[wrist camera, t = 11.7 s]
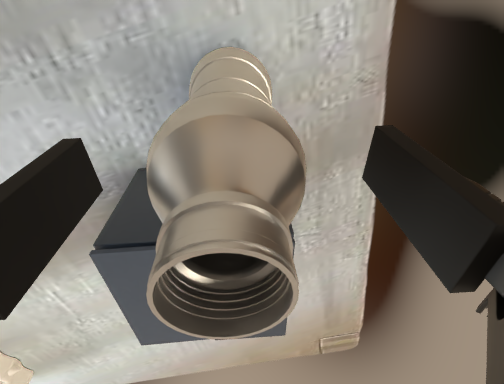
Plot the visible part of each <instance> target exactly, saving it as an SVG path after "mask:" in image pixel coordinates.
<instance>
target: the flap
mask: <svg viewBox="0 0 504 384" xmlns="http://www.w3.org/2000/svg"><path fill="white" fill-rule="evenodd" d="M89 255H90V257H91V259H92V260H93V262H94V264H95V266H96V267H97V269H98V271H99V273H100V274H101V276H102V278H103V279H104V281H105V283H106V285H107V286H108V288H109V290H110V292H111V293H112V295H113V297H114V299H115V300H116V302H117V304H118V305H119V307H120V309H121V311H122V312H123V314H124V316H125V318H126V319H127V321H128V323H129V325H130V326H131V328H132V330H133V331H134V333H135V335H136V337H137V338H138V340H139V342H140V344H141V345H151V344H162V343H173V342H183V341H194V340H205V339H206V338H199V337H194V336H190V335H187V334H184V333H181V332H178V331H176V330H174V329H172V328H170V327H168V326H167V325H165V324H164V323H163V322H161V321H160V320H159V319H158V318H157V317H156V316H155V315H154V314H153V313H152V311H151V309H150V307H149V305H148V302H147V296H146V293H147V284H148V279H149V275H150V272H151V269H152V266H153V263H154V260H155V257H156V246H143V247H130V248H116V249H103V250H92V251H91V252H90V254H89Z"/></svg>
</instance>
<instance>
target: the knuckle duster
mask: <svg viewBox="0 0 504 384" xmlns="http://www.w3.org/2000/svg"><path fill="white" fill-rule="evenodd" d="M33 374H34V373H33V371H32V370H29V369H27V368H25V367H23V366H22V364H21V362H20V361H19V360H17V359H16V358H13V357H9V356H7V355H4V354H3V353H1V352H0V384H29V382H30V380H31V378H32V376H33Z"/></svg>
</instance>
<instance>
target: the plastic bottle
mask: <svg viewBox="0 0 504 384" xmlns="http://www.w3.org/2000/svg"><path fill="white" fill-rule="evenodd" d="M146 167H147V186H148V194H149V197H150V200H151V203H152V206H153V208H154V210H155V211H156V213H157V215H158V217H159V218H160V220H161V222H162V223H163V224H162V226H161V229H160V232H159V235H158V238H157V243H156V257H155V260H154V263H153V266H152V269H151V272H150V275H149V279H148V284H147V293H146V296H147V302H148V305H149V307H150V309H151V311H152V313H153V314H154V315H155V316H156V317H157V318H158V319H159V320H160V321H161V322H163V323H164V324H165V325H167V326H168V327H170V328H172V329H174V330H176V331H178V332H181V333H184V334H187V335H190V336H194V337H199V338H206V339H236V338H242V337H248V336H252V335H255V334H258V333H261V332H264V331H266V330H268V329H271V328H273V327H274V326H276V325H277V324H279V323H281V322H282V321H283V320H284V319H285V318H287V317H288V316H289V314H290V313H291V312H292V311H293V309H294V308H295V305H296V303H297V301H298V294H299V289H298V284H299V283H298V278H297V274H296V270H295V266H294V262H293V258H292V257H293V243H292V238H291V234H290V230H289V225H290V224H291V222H292V220H293V219H294V217H295V215H296V214H297V212H298V210H299V208H300V206H301V203H302V200H303V197H304V191H305V180H306V169H307V168H306V161H305V154H304V151H303V149H302V146H301V143H300V141H299V139H298V137H297V136H296V134H295V133H294V131H293V130H292V128H291V127H290V125H289V124H288V122H287V121H286V119H285V118H284V117H283V116H282V115H280V114H279V113H278V112H277V111H276V110H275V109H274V108H273V107H272V86H271V81H270V78H269V75H268V72H267V70H266V69H265V67H264V66H263V64H262V63H261V62H260V61H259V60H258V59H257V58H256V57H255V56H254V55H252V54H251V53H249V52H248V51H245V50H243V49H240V48H235V47H222V48H219V49H216V50H213V51H212V52H210V53H208V54H206V55H205V56H204V57H203V58H202V59H201V60H200V61H199V62H198V64H197V65H196V67H195V68H194V71H193V73H192V76H191V80H190V85H189V100H188V101H187V102H186V103H185V104H183V105H182V106H180V107H179V108H178V109H177V110H176V111H175V112H174V113H173V114H172V115H170V116H169V118H168V119H167V120H166V121H165V122H164V123H163V125H162V126H161V128H160V129H159V131H158V132H157V133H156V135H155V136H154V138H153V141H152V143H151V146H150V149H149V151H148V158H147V166H146Z"/></svg>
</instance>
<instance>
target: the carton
mask: <svg viewBox="0 0 504 384" xmlns="http://www.w3.org/2000/svg"><path fill="white" fill-rule="evenodd" d="M162 224H163V223H162V222H161V220H160V218H159V217H158V215H157V213H156V211H155V210H154V208H153V206H152V203H151V200H150V197H149V194H148V186H147V168H146V169H138V171H137V173H136V174H135V176H134V178H133V179H132V181H131V183H130V184H129V186H128V188H127V189H126V191H125V193H124V194H123V196H122V198H121V199H120V201H119V203H118V204H117V206H116V208H115V209H114V211H113V213H112V214H111V216H110V218H109V219H108V221H107V223H106V224H105V226H104V228H103V229H102V231H101V233H100V234H99V236H98V238H97V239H96V241H95V243H94V244H93V246H94V248H95V249H96V250H103V249H116V248H130V247H143V246H156V243H157V238H158V235H159V232H160V229H161V226H162ZM289 230H290V234H291V238H292V243H293V257H294V247H295V241H294V239H293V237H294V232H293V229H292V225H291V224H290V225H289ZM293 257H292V258H293ZM286 323H287V318H285V319H284V320H283V321H282V322H281V323H279V324H277V325H276V326H274V327H273V328H271V329H268V330H266V331H264V332H261V333H258V334H255V335H252V336H248V337H242V338H254V337H268V336H282V335H285V333H286ZM236 339H240V338H236ZM215 340H225V339H215Z"/></svg>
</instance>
